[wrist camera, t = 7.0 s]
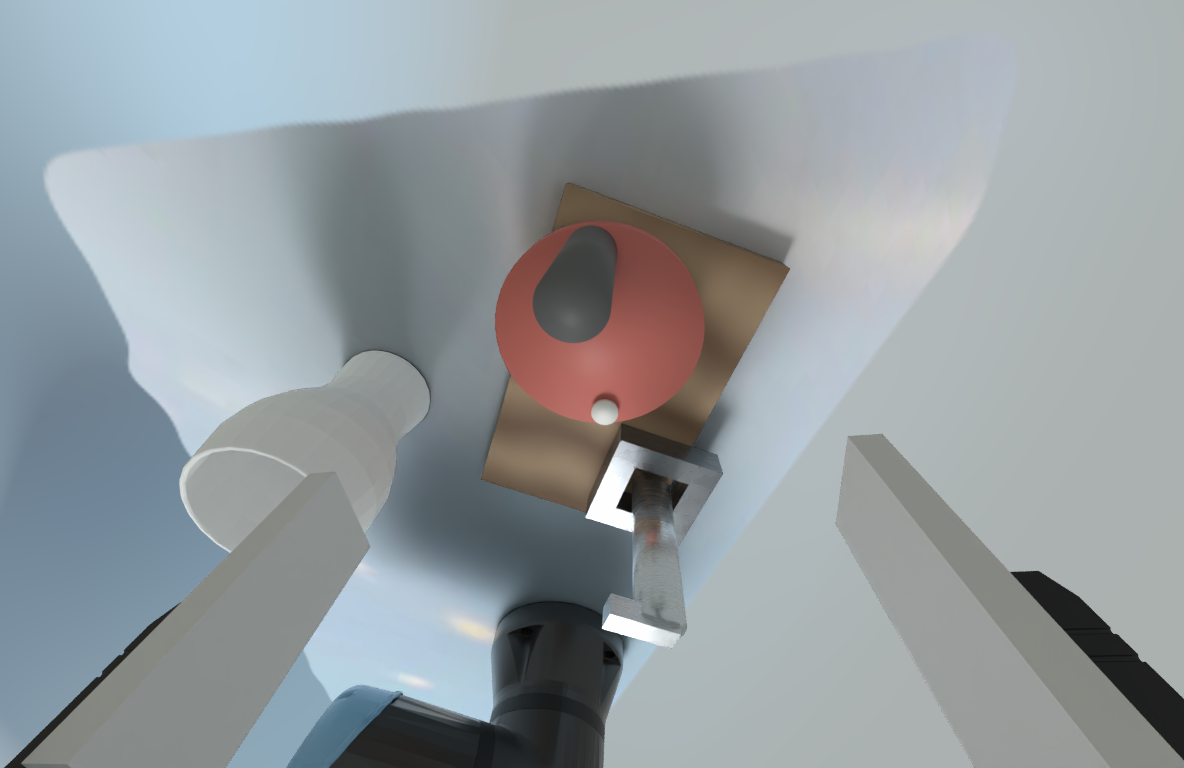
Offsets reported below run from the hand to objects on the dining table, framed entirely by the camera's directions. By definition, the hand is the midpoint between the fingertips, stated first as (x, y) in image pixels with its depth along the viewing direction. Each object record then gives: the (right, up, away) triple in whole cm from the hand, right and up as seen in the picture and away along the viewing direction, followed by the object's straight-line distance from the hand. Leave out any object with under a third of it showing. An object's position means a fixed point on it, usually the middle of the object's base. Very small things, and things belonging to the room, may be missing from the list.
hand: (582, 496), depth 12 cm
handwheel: (+1, +7, +18) cm, 19 cm away
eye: (+5, -5, +28) cm, 29 cm away
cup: (-18, +2, +28) cm, 33 cm away
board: (+2, +3, +25) cm, 26 cm away
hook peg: (+5, -5, +28) cm, 29 cm away
